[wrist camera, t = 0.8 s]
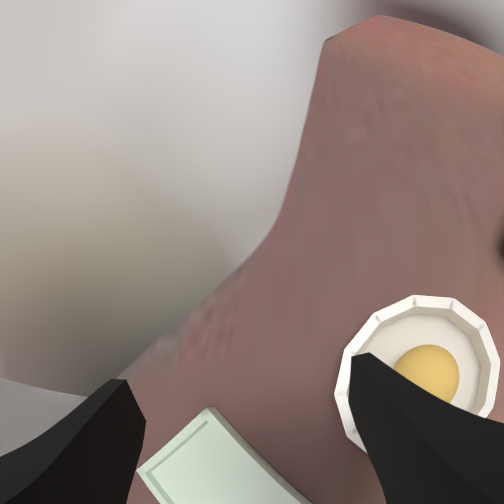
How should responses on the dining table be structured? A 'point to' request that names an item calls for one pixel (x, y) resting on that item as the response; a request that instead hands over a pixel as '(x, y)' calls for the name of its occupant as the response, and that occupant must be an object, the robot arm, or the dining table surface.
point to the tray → (214, 468)
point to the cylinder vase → (30, 412)
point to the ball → (431, 370)
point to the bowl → (421, 333)
